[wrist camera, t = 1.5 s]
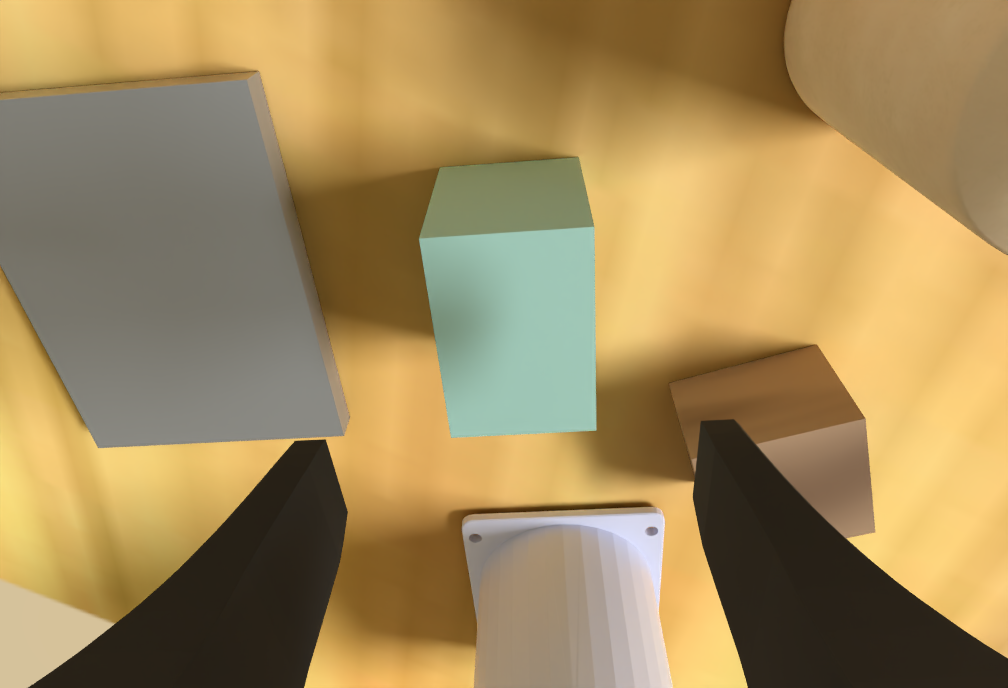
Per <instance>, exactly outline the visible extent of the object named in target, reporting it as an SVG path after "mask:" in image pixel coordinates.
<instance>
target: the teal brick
mask: <svg viewBox="0 0 1008 688" xmlns="http://www.w3.org/2000/svg"><path fill="white" fill-rule="evenodd" d="M419 242H420V248H421V255H422V261H423V267H424V273H425V279H426V285H427V292H428V298H429V304H430V310H431V316H432V322H433V329H434V335H435V341H436V347H437V353H438V360H439V366H440V372H441V378H442V384H443V390H444V397H445V403H446V409H447V415H448V421H449V428H450V434H451V438H455V437H476V436H496V435H516V434H537V433H557V432H577V431H596V345H595V245H594V223H593V219H592V214H591V210H590V205H589V201H588V196H587V192H586V187H585V183H584V179H583V174H582V170H581V165H580V161H579V157H574V158H560V159H546V160H533V161H519V162H505V163H492V164H478V165H465V166H451V167H440V169H439V172H438V175H437V179H436V182H435V186H434V189H433V192H432V196H431V199H430V203H429V206H428V209H427V213H426V216H425V220H424V223H423V226H422V230H421V233H420V237H419Z"/></svg>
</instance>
